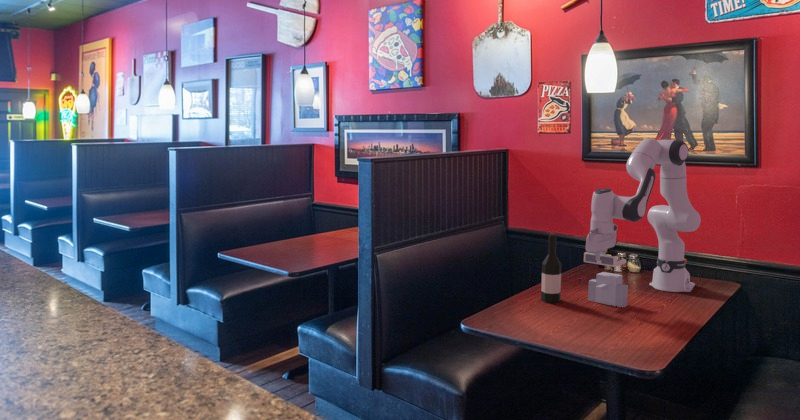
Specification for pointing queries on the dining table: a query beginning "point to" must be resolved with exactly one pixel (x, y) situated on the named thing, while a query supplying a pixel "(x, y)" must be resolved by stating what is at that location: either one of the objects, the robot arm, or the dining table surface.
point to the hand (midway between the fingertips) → (600, 260)
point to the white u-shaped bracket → (603, 260)
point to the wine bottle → (551, 274)
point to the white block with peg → (608, 290)
